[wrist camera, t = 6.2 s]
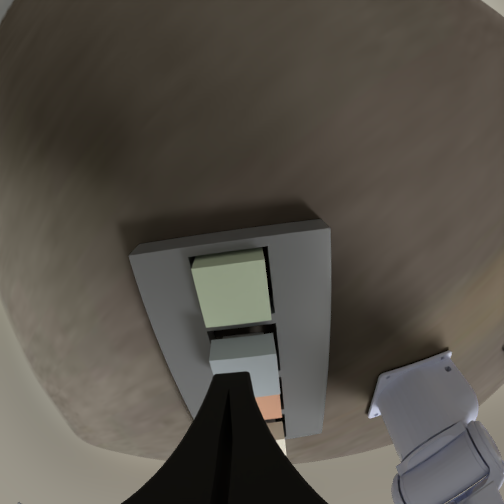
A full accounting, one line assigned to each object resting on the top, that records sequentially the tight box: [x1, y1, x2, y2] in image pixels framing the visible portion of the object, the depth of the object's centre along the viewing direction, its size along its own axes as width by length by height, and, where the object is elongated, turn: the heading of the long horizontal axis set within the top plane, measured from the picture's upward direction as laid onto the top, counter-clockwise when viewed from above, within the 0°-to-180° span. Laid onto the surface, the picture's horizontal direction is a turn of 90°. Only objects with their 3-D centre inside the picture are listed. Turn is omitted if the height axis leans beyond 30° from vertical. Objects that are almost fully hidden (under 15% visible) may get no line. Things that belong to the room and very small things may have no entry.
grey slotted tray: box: [129, 219, 331, 439], centre depth 21 cm, size 12×22×2 cm, turn 7°
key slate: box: [209, 332, 280, 397], centre depth 18 cm, size 4×4×3 cm
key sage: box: [191, 247, 272, 328], centre depth 17 cm, size 4×4×3 cm
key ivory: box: [265, 419, 286, 455], centre depth 22 cm, size 4×4×3 cm
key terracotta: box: [255, 394, 282, 420], centre depth 21 cm, size 4×4×3 cm
